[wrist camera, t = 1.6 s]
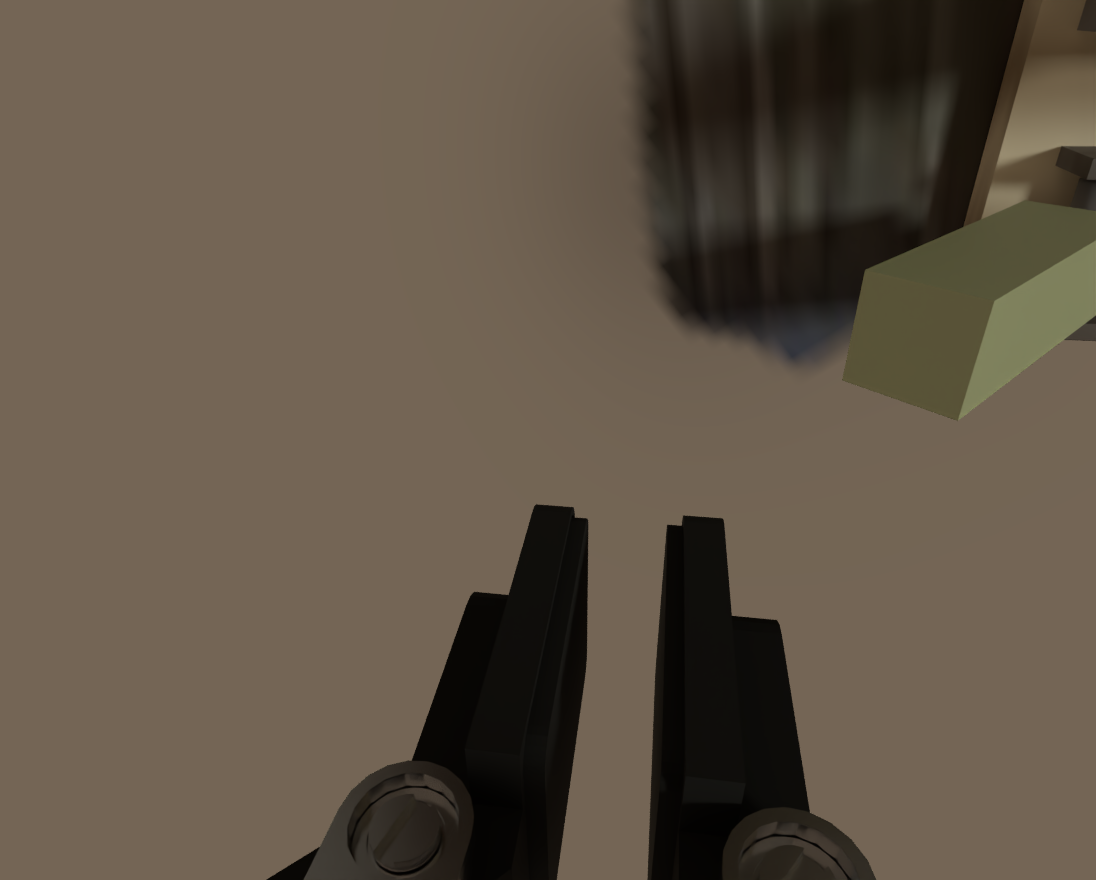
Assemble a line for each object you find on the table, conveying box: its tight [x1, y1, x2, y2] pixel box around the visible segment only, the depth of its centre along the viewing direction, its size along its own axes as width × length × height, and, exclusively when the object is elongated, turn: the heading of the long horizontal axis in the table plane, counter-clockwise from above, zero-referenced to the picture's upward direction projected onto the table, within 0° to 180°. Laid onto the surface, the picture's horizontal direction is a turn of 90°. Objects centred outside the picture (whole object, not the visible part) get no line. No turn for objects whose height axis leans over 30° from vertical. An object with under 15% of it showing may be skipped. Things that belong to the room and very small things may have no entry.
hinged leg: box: [842, 178, 1096, 421], centre depth 21 cm, size 4×3×13 cm
